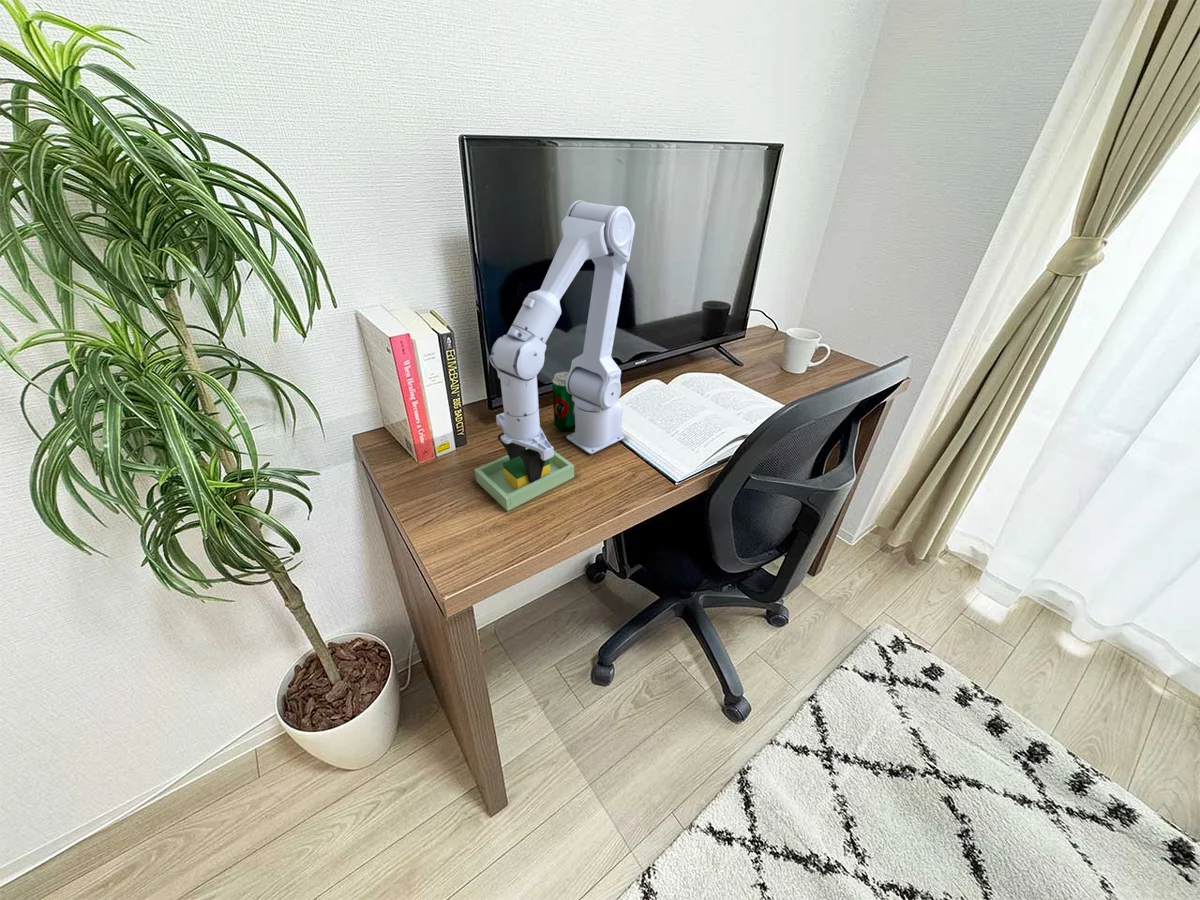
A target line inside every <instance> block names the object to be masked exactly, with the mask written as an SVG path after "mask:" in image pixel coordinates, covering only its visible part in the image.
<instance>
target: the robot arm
mask: <svg viewBox="0 0 1200 900" xmlns="http://www.w3.org/2000/svg"><path fill="white" fill-rule="evenodd" d="M635 229H636V223H635V221H634V218H633V217H632V214H631V212H630V210H629V209H628V208H627V207H626V206H623V205H617V206H615V205H608V204H601V203H595V202H588V201H585V200H581V199H577V200H575V201H574V202H572V203H571V204H570V205H569V207H568V209H567V212H566V214H565V217H564V218H563V220H562V221H561V232H562V239H561V241H560V242H559V246H558V247H557V250H556V252H555V254H554V257H553V259H552V261H551V264H550V265H549V267H548V270H547V273H546V274H545V277H544V278H543V281H542V284H541V286H540V288H539V289H537V290H534V291H531V292H529V293H528V294H527V296H526V297H524V300H523V301H522V305H521V307H520V309H519V310H518V312H517V314H516V316H515V318H514V320H513V322H512V323H511V326H510V327H509V329H508V331H507V333H506V334H504V335H502V336H500V337H498V338H497V339H496V341H495V342H494V343H493V345H492V347H491V353H490V355H489V356H488V358H489V362H490V364H491V366H492V367H493V368H494V369H495V370H496V372H497V378H498V379H499V380H500V389H501V398H502V399H501V400H502V406H503V407H502V408H503V412H502V413H499V414H496V415H495V419H496V425H497V426H498V427H501V429H502V431H503V432H501V433H499V434H498V435H497V440H498V441H499V442H500V443H501V444H502V446H503V448H504V449H505V452H506V453H507V455H508V456H509V458H510V460H511V459H513V458H515V457H518V456H520V458H521V459H522V461H523V463H524V465H525V468H526V472H527V477H528V479H529V482H531V483H532V482H534V481H537V480H539V479H541V475H542V471H543V467H544V464H545V462H546V460H548V459H550V458H552V457H554V451H555V450H554V446H553V445H551V443H550V442H549V441H548V439H547V436H546V434H545V433H544V431H543V429H542V427H541V423H540V422H541V421H540V407H539V406H540V405H539V389H538V374H539V373H540V371H542V369H543V368H544V363H545V357H546V355H545V352H546V351H547V344H546V343H547V341H548V339H549V338H550V335H551V333H552V332H553V330H554V328H555V326H556V324H557V322H558V321H559V319H560V316H561V315H562V307H561V300H562V298H563V296H564V295H565V293H566V291H567V290H568V288H569V286H570V285H571V283H572V282H573V281H574V279H575V277H576V276H577V274H578V273H579V272H580V269H581V267H583V265H584V263H585V262H586V261H588V260H591V261H592V262H593V264H594V274H593V280H592V287H591V295H590V301H589V308H588V314H587V315H588V316H587V323H586V329H585V334H584V335H585V337H584V342H583V350H582V353H581V354H580V355H578V356H576V357H574V358H572V360H571V364H570V369H569V371H568V372H569V373H568V375H567V378H566V390H567V392H568V393H569V394H570V395H572V401H574V402H575V428H574V432H572V433H570V434H567V435H566V439H567V440H568V441H569V442H571V443H573V444H574V445H575V446H576V447H578V448H580V449H581V450H583V452H586V453H587V454H589V455H593V454H595V453H598V452H600V451H602V450H604V449H605V448H607V447H608V448H609V446H611V445H613V444H616V443H618V442H620V441H623V440H624V439H625V436H624V435H623V434H622V429H623V406H622V403H621V402H620V400H619V399H620V397H621V393H622V384H621V376H622V370H621V369H620V367H619V365H618V364H617V363H616V362H615V360H614V359H613V357H612V353H613V348H614V342H615V335H616V329H617V324H618V318H619V312H620V306H621V301H622V294H623V289H624V283H625V276H626V271H627V266H628V263H629V262H630V258H631V254H632V253H631V252H632V246H633V243H634V242H633V240H634V235H635ZM526 448H529V449H526Z"/></svg>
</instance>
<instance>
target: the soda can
mask: <svg viewBox="0 0 1200 900" xmlns="http://www.w3.org/2000/svg"><path fill="white" fill-rule="evenodd" d="M568 373H569V371H558V372H557V373H555V374H554V375H553V379H552V380H551V383H552V384H551V385H552V386H551V387H552V403H553V404H552V405H553V425H554V427H555V428H556V429H557V430H559V431H562V432H569V431H573V430H575V402H574V401H572V395H570V394H569V393H568V392H567V390H566V378H567V375H568Z"/></svg>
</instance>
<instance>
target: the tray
mask: <svg viewBox="0 0 1200 900" xmlns="http://www.w3.org/2000/svg"><path fill="white" fill-rule="evenodd" d="M526 449H529V448H526ZM509 460H510V458H509V456H508V454H507V455H504V456H502V457H499V458H498V459H495V460H493V461H489V462H488V463H486V464H483V465H481V466H479V467H477V468H474V475H475V481H476V483H477V484H478V485H479V486H480V487H481V488H483V489H484V490H485V491H486V492H487V494H489V496H490V497H492V498H493V499H494V500H495V501H496V502H497V503H498V504H499V505H500V506H501V507H502V508H503V509H504V510H505V511H507V512H509V511H511V510H513V509H515V508H517V507H519V506H520V505H523V504H524V503H527V502H528V501H531V500H533V499H534V498H537V497H538V496H540V495H543V494H544V493H546V492H548V491H550V490H552V489H554V488H556V487H558V486H560V485H562V484H564V483H565V482H568V481H569V480H570V481H571V479H573V478H575V464H573V463H572V462H570V461H569V460H568V459H566V458H565V457H564V456H562V455H561V454H560V453H558V452H557V451H556V450H554V457H552V458H550V459H549V460H550V474H549V475H547V476H545V477H543V478H541V479H539V480H537V481H534V482H532V483H530V484H528V485H526V486H524V487H522V488H520V489H518V490H515V489H514V488H513V487H511V486H510V485H509V484H508V483H507V482H506V481H505V478H504V470H503V463H504V462H506V461H509Z"/></svg>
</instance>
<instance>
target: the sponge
mask: <svg viewBox="0 0 1200 900" xmlns="http://www.w3.org/2000/svg"><path fill="white" fill-rule="evenodd" d="M503 470H504V478H505V481H506V482H507V483H508V484H509V485H510V486H511V487H513V488H514V489H515V490H518V489H520V488H522V487H524V486H526V485H528V484H530V483H531V482H529V479H528V477H527V472H526V468H525V465H524V463H523V461H522V459H521V458H520V456H518V457H515V458H513V459H511V460H509V461H506V462H504V463H503ZM549 474H550V460H549V459H548V460H546V462H545V464H544V467H543V471H542V475H541V478H543V477H545V476H547V475H549Z"/></svg>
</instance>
